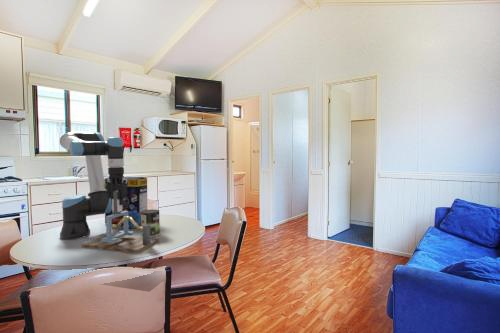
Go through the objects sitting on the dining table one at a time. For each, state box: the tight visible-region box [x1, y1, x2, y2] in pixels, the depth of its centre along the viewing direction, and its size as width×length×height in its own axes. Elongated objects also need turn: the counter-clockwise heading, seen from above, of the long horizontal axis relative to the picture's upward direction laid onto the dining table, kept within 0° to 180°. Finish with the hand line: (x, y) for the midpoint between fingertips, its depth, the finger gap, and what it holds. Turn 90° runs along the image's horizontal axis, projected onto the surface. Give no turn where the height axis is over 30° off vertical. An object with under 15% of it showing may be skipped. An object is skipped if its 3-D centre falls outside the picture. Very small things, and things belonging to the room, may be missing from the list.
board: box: [81, 234, 160, 254], centre depth 151 cm, size 34×18×2 cm, turn 74°
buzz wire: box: [112, 216, 151, 245], centre depth 149 cm, size 24×3×14 cm, turn 74°
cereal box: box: [104, 176, 148, 226], centre depth 195 cm, size 27×11×32 cm, turn 80°
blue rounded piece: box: [128, 210, 141, 230], centre depth 181 cm, size 12×7×12 cm, turn 74°
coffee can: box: [141, 209, 161, 238], centre depth 167 cm, size 10×10×14 cm
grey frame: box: [101, 191, 135, 243], centre depth 150 cm, size 8×15×25 cm, turn 164°
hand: (117, 210), depth 150 cm, fingers closed on grey frame, 2 cm apart
